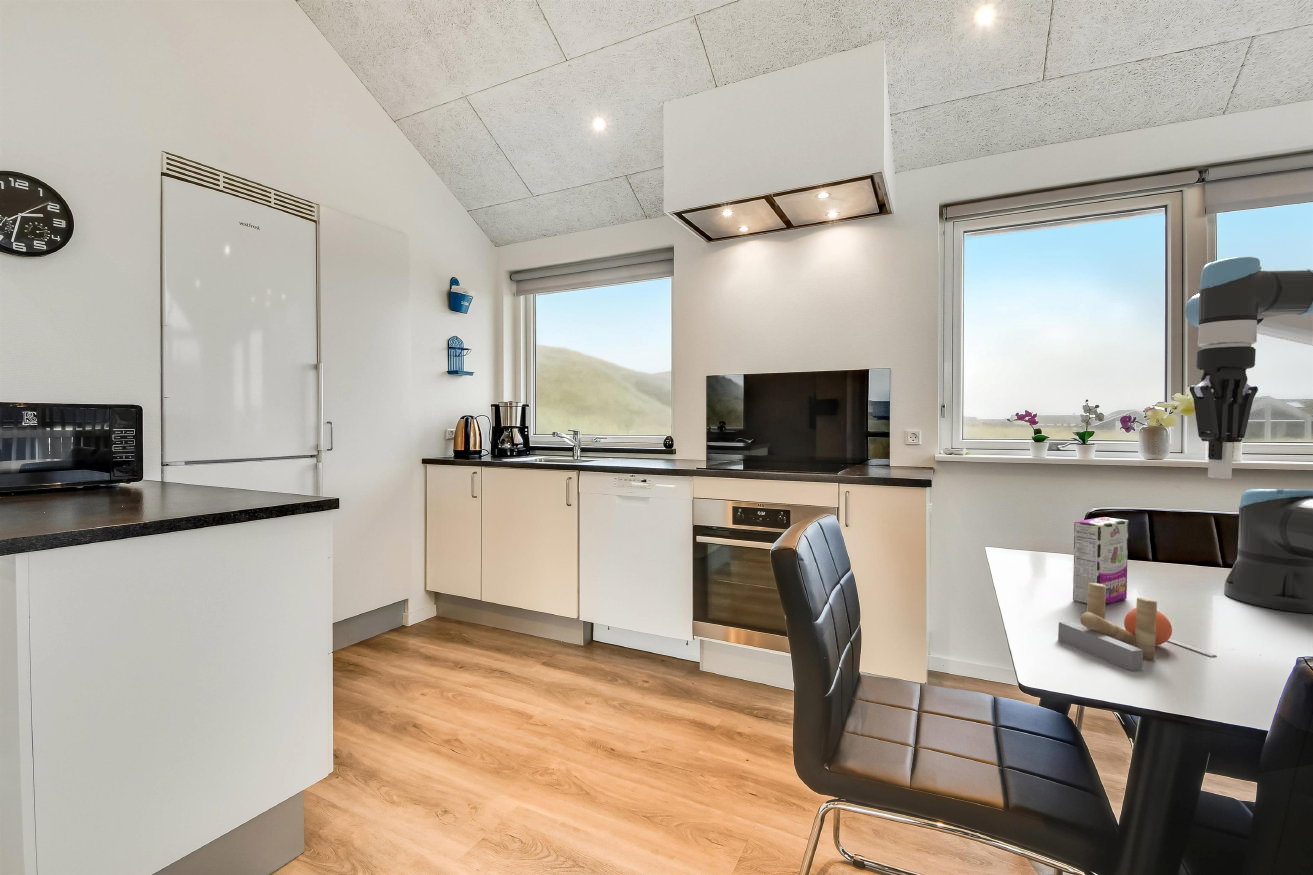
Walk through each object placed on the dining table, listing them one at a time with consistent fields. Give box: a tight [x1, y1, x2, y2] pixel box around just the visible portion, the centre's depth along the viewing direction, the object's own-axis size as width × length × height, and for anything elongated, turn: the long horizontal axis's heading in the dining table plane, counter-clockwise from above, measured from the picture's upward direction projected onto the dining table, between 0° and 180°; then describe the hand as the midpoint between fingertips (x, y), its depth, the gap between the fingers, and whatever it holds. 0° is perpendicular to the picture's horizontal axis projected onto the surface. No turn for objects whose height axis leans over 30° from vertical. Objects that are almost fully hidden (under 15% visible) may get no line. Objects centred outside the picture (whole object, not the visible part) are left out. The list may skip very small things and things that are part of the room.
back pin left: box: [1134, 597, 1158, 662], centre depth 89 cm, size 2×2×9 cm
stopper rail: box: [1057, 620, 1144, 672], centre depth 90 cm, size 2×12×3 cm, turn 12°
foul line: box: [1167, 637, 1217, 658], centre depth 96 cm, size 1×12×1 cm, turn 13°
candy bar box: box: [1072, 516, 1129, 606], centre depth 117 cm, size 11×5×16 cm, turn 117°
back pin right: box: [1085, 583, 1106, 630], centre depth 97 cm, size 2×2×9 cm
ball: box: [1123, 607, 1173, 646], centre depth 94 cm, size 6×6×6 cm
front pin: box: [1079, 611, 1135, 646], centre depth 93 cm, size 2×2×9 cm
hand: (1219, 477), depth 104 cm, fingers closed
